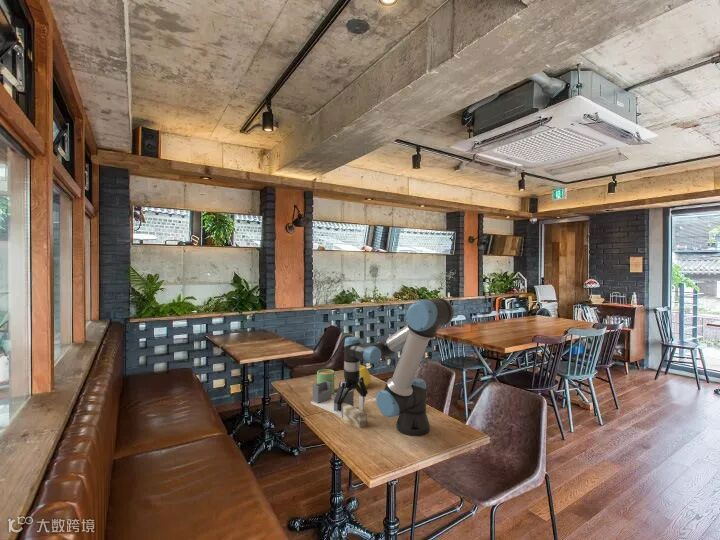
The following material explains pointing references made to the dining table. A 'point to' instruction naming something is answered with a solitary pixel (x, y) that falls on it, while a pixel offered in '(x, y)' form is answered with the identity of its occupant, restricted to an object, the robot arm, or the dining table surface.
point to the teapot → (364, 375)
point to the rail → (354, 415)
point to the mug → (326, 377)
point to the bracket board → (328, 397)
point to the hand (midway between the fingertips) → (351, 413)
